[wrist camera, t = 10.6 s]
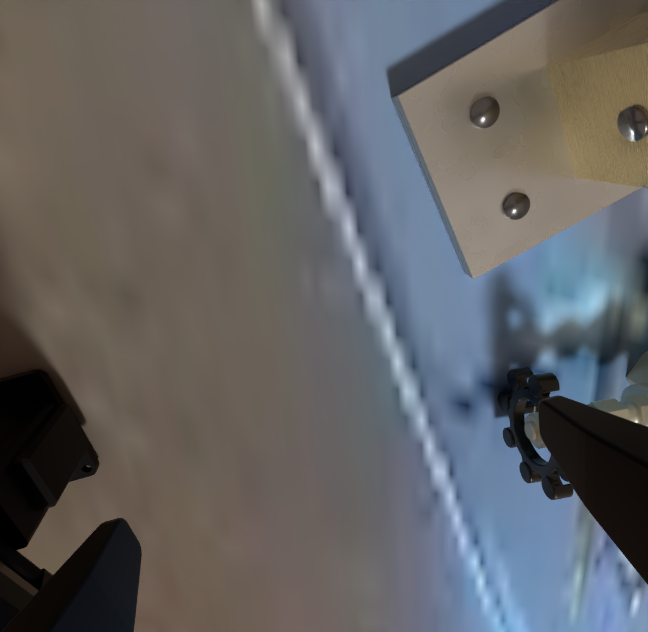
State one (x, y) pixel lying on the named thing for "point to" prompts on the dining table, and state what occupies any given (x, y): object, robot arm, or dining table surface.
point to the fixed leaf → (508, 136)
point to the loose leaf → (607, 104)
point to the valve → (636, 405)
